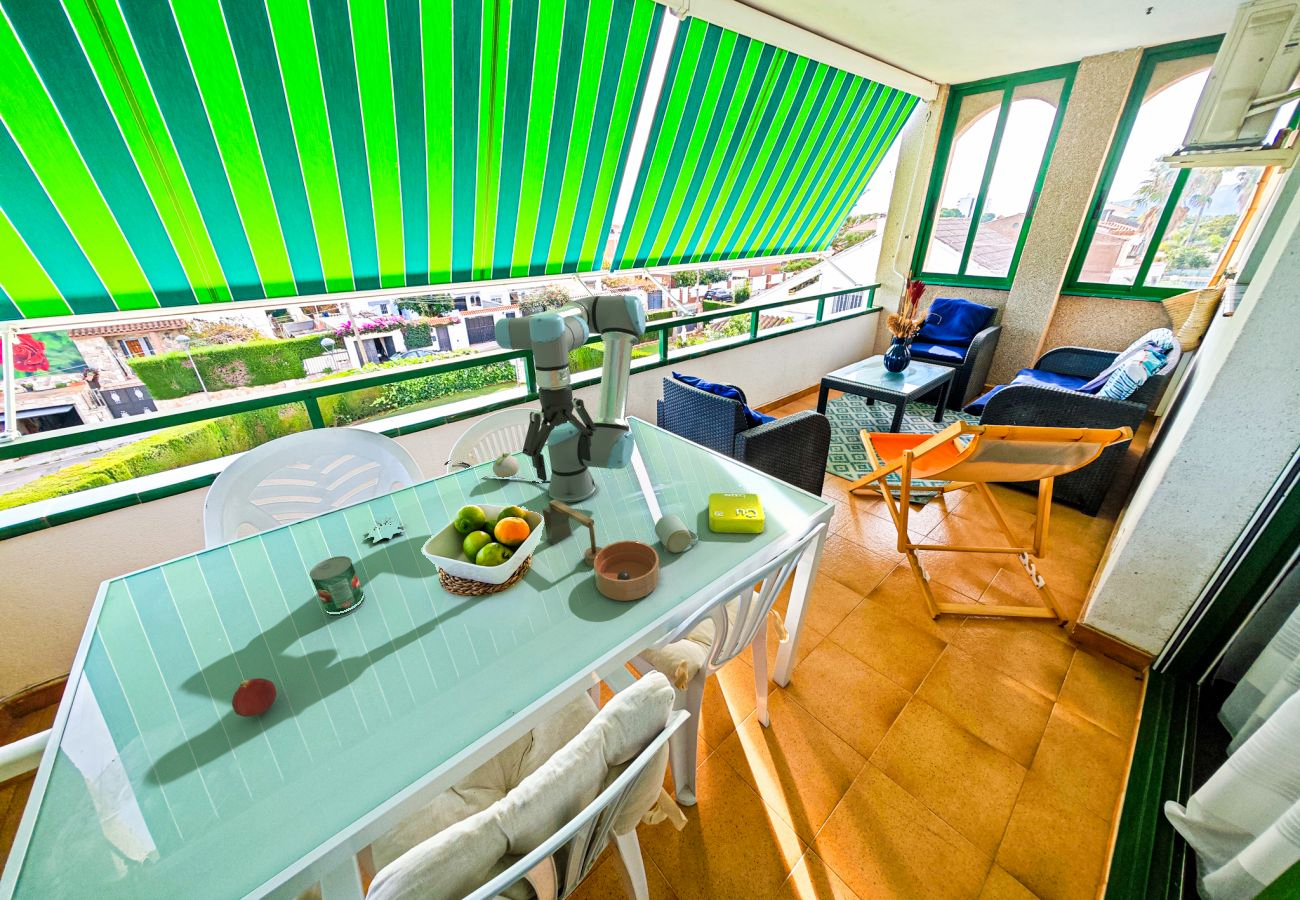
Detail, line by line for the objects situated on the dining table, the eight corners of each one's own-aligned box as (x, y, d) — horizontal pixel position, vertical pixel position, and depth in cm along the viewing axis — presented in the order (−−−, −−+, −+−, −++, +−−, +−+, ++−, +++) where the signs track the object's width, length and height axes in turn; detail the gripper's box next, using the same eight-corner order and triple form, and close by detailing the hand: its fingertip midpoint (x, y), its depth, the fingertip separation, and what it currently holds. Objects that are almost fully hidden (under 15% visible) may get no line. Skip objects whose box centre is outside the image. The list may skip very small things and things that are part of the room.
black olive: (612, 576, 108) (619, 577, 110) (618, 587, 106) (625, 587, 108) (621, 568, 107) (628, 569, 109) (627, 579, 105) (634, 579, 108)
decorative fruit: (516, 485, 157) (511, 459, 152) (492, 486, 157) (487, 459, 153) (523, 472, 165) (519, 447, 161) (501, 473, 165) (496, 448, 161)
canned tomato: (373, 597, 108) (359, 559, 103) (343, 621, 101) (327, 581, 97) (348, 590, 110) (334, 553, 106) (317, 613, 104) (300, 574, 99)
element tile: (758, 505, 139) (759, 491, 137) (764, 534, 125) (765, 519, 123) (708, 504, 140) (708, 491, 138) (709, 532, 127) (709, 518, 125)
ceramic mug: (667, 558, 117) (667, 532, 114) (654, 540, 124) (654, 516, 121) (703, 547, 121) (704, 522, 118) (689, 531, 128) (689, 507, 125)
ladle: (549, 540, 126) (544, 504, 121) (564, 532, 129) (559, 497, 125) (593, 568, 114) (589, 529, 110) (608, 559, 118) (605, 520, 113)
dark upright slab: (547, 540, 126) (542, 508, 122) (564, 531, 130) (560, 499, 126) (553, 545, 124) (548, 512, 120) (571, 535, 128) (567, 503, 124)
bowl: (582, 582, 110) (580, 562, 108) (627, 552, 120) (626, 533, 118) (627, 612, 100) (625, 591, 98) (672, 577, 110) (671, 557, 108)
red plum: (257, 698, 84) (239, 667, 81) (290, 695, 85) (273, 664, 81) (234, 729, 79) (214, 697, 76) (269, 725, 79) (250, 693, 76)
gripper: (516, 402, 94) (530, 493, 102) (606, 376, 110) (612, 455, 119) (496, 396, 98) (512, 483, 107) (586, 371, 115) (593, 448, 124)
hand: (565, 468), depth 113 cm, fingers open, 13 cm apart
